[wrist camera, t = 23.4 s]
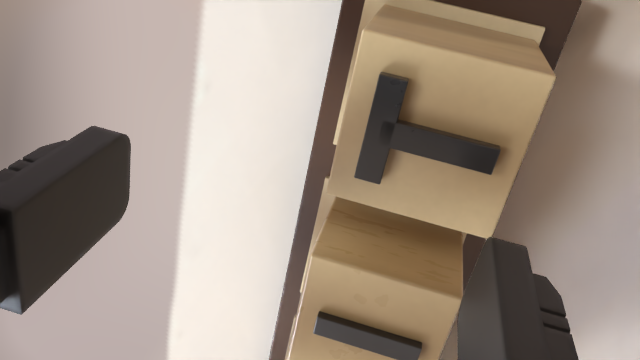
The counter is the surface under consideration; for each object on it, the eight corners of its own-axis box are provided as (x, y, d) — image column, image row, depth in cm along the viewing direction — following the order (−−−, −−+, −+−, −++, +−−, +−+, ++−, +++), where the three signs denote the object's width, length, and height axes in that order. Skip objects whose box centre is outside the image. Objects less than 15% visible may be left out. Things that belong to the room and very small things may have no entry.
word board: (358, -55, 17) (352, -53, 16) (575, -5, 16) (584, 1, 15) (265, 392, 26) (257, 412, 25) (400, 437, 26) (397, 459, 24)
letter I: (336, 191, 19) (307, 259, 16) (463, 227, 19) (464, 306, 15) (313, 290, 21) (282, 371, 18) (427, 324, 21) (419, 415, 17)
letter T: (383, 3, 16) (360, 30, 13) (536, 39, 16) (560, 79, 12) (350, 140, 18) (323, 199, 15) (485, 176, 18) (491, 246, 14)
